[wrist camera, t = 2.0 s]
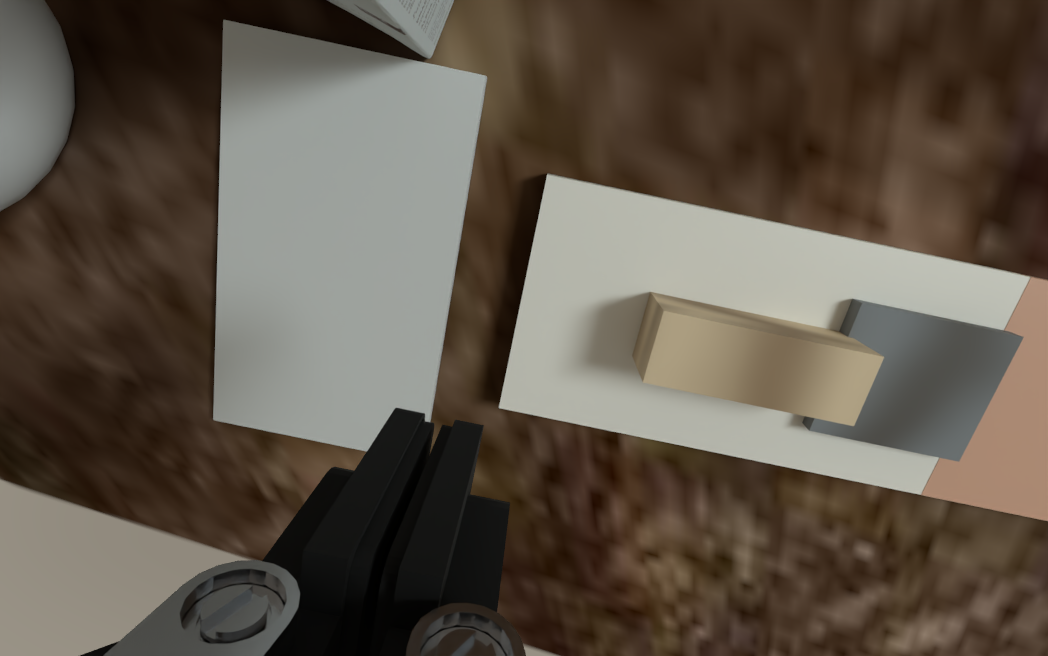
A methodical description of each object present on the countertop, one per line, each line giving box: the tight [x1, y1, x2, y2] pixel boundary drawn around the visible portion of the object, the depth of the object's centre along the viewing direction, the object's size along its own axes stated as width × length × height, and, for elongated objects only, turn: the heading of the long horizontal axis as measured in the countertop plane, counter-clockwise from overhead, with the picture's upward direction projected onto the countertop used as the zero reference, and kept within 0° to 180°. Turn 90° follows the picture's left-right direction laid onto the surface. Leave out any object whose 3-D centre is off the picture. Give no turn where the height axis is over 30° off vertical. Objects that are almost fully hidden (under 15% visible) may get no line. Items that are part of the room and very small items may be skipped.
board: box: [499, 173, 1048, 521], centre depth 23 cm, size 10×28×1 cm, turn 79°
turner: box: [632, 292, 1024, 462], centre depth 21 cm, size 14×6×3 cm, turn 79°
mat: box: [213, 20, 487, 451], centre depth 23 cm, size 17×10×1 cm, turn 169°
